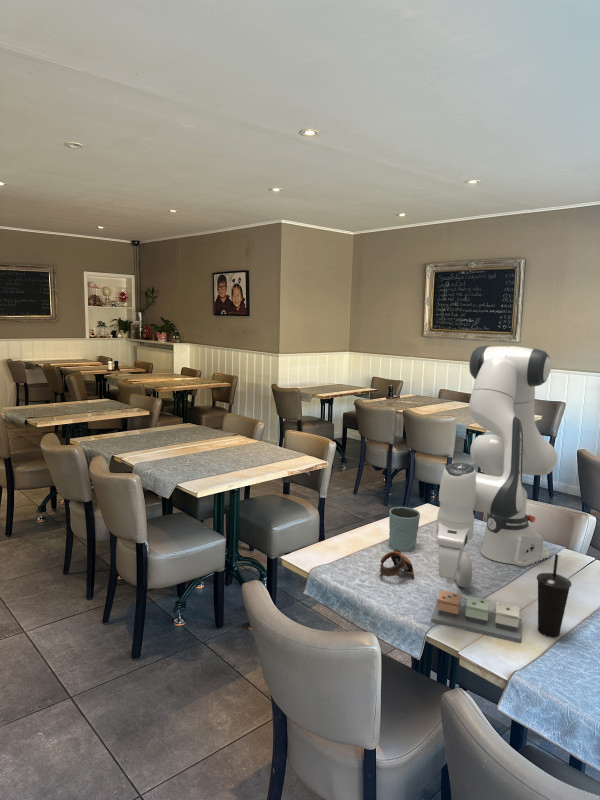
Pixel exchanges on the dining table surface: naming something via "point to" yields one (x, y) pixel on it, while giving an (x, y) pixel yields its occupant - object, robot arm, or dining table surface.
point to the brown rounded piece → (396, 564)
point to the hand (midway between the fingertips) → (450, 581)
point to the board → (478, 624)
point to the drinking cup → (551, 601)
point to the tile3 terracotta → (448, 602)
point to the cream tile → (507, 614)
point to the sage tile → (477, 608)
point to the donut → (464, 571)
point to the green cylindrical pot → (403, 528)
